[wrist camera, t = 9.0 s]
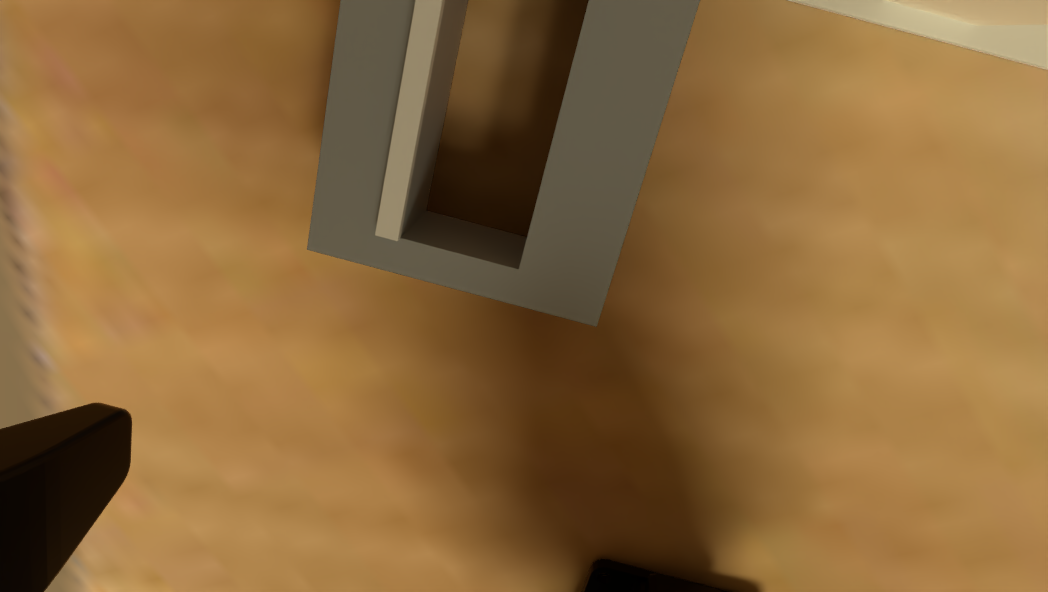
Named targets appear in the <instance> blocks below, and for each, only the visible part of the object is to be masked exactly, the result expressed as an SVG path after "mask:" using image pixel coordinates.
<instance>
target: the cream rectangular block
mask: <svg viewBox="0 0 1048 592" xmlns="http://www.w3.org/2000/svg"><path fill="white" fill-rule="evenodd" d="M885 1H889V2H892V3H896V4H900V5H903V6H907V7H910V8H914V9H918V10H921V11H925V12H929V13H932V14H936V15H939V16H943V17H947V18H950V19H954V20H957V21H961V22H965V23H968V24H972V25H976V26H987V25H1048V0H885Z"/></svg>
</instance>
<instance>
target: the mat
mask: <svg viewBox="0 0 1048 592" xmlns="http://www.w3.org/2000/svg"><path fill="white" fill-rule="evenodd" d="M788 1H792V2H796V3H799V4H803V5H807V6H811V7H814V8H818V9H822V10H825V11H829V12H833V13H837V14H840V15H844V16H848V17H852V18H855V19H859V20H863V21H867V22H870V23H874V24H878V25H881V26H885V27H889V28H893V29H896V30H900V31H904V32H908V33H911V34H915V35H919V36H923V37H926V38H930V39H934V40H937V41H941V42H945V43H949V44H952V45H956V46H960V47H964V48H967V49H971V50H975V51H978V52H982V53H986V54H990V55H993V56H997V57H1001V58H1005V59H1008V60H1012V61H1016V62H1020V63H1023V64H1027V65H1031V66H1034V67H1038V68H1042V69H1046V70H1048V25H987V26H976V25H972V24H968V23H965V22H961V21H957V20H954V19H950V18H947V17H943V16H939V15H936V14H932V13H929V12H925V11H921V10H918V9H914V8H910V7H907V6H903V5H900V4H896V3H892V2H889V1H885V0H788Z"/></svg>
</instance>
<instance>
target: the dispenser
mask: <svg viewBox="0 0 1048 592" xmlns="http://www.w3.org/2000/svg"><path fill="white" fill-rule="evenodd" d="M699 2H700V0H589V2H588V5H587V9H586V13H585V17H584V21H583V25H582V28H581V32H580V36H579V40H578V44H577V48H576V51H575V55H574V59H573V63H572V67H571V71H570V74H569V78H568V82H567V86H566V90H565V94H564V98H563V101H562V105H561V109H560V113H559V117H558V121H557V124H556V128H555V132H554V136H553V140H552V144H551V147H550V151H549V155H548V159H547V163H546V167H545V170H544V174H543V178H542V182H541V186H540V190H539V194H538V197H537V201H536V205H535V209H534V213H533V217H532V220H531V224H530V228H529V232H528V236H527V237H524V236H521V235H517V234H513V233H509V232H506V231H502V230H498V229H494V228H491V227H487V226H483V225H479V224H476V223H472V222H468V221H464V220H461V219H457V218H453V217H450V216H446V215H442V214H438V213H435V212H431V211H427V210H426V209H427V204H428V199H429V194H430V189H431V184H432V179H433V174H434V169H435V164H436V159H437V154H438V149H439V144H440V139H441V134H442V129H443V124H444V119H445V114H446V109H447V104H448V99H449V94H450V89H451V84H452V79H453V74H454V69H455V64H456V59H457V54H458V49H459V44H460V39H461V34H462V29H463V24H464V19H465V14H466V9H467V4H468V0H341V1H340V9H339V16H338V24H337V31H336V38H335V46H334V53H333V61H332V68H331V76H330V83H329V90H328V98H327V105H326V113H325V120H324V128H323V135H322V142H321V150H320V157H319V165H318V172H317V180H316V187H315V194H314V202H313V209H312V217H311V224H310V231H309V239H308V246H307V250H310V251H314V252H318V253H322V254H325V255H329V256H333V257H337V258H340V259H344V260H348V261H352V262H355V263H359V264H363V265H367V266H370V267H374V268H378V269H382V270H385V271H389V272H393V273H397V274H400V275H404V276H408V277H412V278H415V279H419V280H423V281H427V282H430V283H434V284H438V285H442V286H445V287H449V288H453V289H457V290H460V291H464V292H468V293H472V294H475V295H479V296H483V297H487V298H490V299H494V300H498V301H502V302H505V303H509V304H513V305H517V306H520V307H524V308H528V309H532V310H535V311H539V312H543V313H547V314H550V315H554V316H558V317H562V318H565V319H569V320H573V321H577V322H580V323H584V324H588V325H592V326H595V327H597V324H598V321H599V318H600V315H601V311H602V308H603V305H604V302H605V299H606V296H607V292H608V289H609V286H610V283H611V280H612V277H613V274H614V270H615V267H616V264H617V261H618V258H619V255H620V251H621V248H622V245H623V242H624V239H625V236H626V233H627V229H628V226H629V223H630V220H631V217H632V214H633V210H634V207H635V204H636V201H637V198H638V195H639V191H640V188H641V185H642V182H643V179H644V176H645V173H646V169H647V166H648V163H649V160H650V157H651V154H652V150H653V147H654V144H655V141H656V138H657V135H658V132H659V128H660V125H661V122H662V119H663V116H664V113H665V109H666V106H667V103H668V100H669V97H670V94H671V90H672V87H673V84H674V81H675V78H676V75H677V72H678V68H679V65H680V62H681V59H682V56H683V53H684V49H685V46H686V43H687V40H688V37H689V34H690V31H691V27H692V24H693V21H694V18H695V15H696V12H697V8H698V5H699Z"/></svg>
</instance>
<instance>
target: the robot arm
mask: <svg viewBox="0 0 1048 592" xmlns="http://www.w3.org/2000/svg"><path fill="white" fill-rule="evenodd" d="M131 436H132V418H131V415H130V413H129V412H128V411H127V410H125V409H122V408H118V407H115V406H111V405H107V404H103V403H91V404H88V405H84V406H80V407H77V408H73V409H70V410H66V411H63V412H59V413H56V414H52V415H49V416H45V417H41V418H38V419H34V420H31V421H27V422H24V423H20V424H17V425H13V426H10V427H6V428H2V429H0V592H44V591H45V590H46V589H47V587H48V586H49V585H50V584H51V582H52V581H53V580H54V578H55V577H56V576H57V574H58V573H59V572H60V570H61V569H62V568H63V566H64V565H65V563H66V562H67V561H68V559H69V558H70V556H71V555H72V554H73V552H74V551H75V549H76V548H77V547H78V545H79V544H80V542H81V541H82V540H83V538H84V537H85V535H86V534H87V533H88V531H89V530H90V528H91V527H92V526H93V524H94V523H95V521H96V520H97V519H98V517H99V516H100V514H101V513H102V512H103V510H104V509H105V507H106V506H107V505H108V503H109V502H110V500H111V499H112V498H113V496H114V495H115V493H116V492H117V491H118V489H119V488H120V486H121V485H122V483H123V482H124V480H125V478H126V476H127V474H128V471H129V468H130V462H131ZM600 573H608V574H609V575H606V576H602V575H600ZM581 592H728V591H724V590H720V589H717V588H713V587H709V586H705V585H702V584H698V583H694V582H690V581H687V580H683V579H679V578H675V577H671V576H668V575H664V574H660V573H656V572H653V571H649V570H645V569H641V568H638V567H634V566H630V565H626V564H623V563H619V562H615V561H611V560H607V559H600V560H597V561H595V562H593V564H592V565H591V567H590V569H589V572H588V575H587V578H586V580H585V583H584V586H583V588H582V591H581Z"/></svg>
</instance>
